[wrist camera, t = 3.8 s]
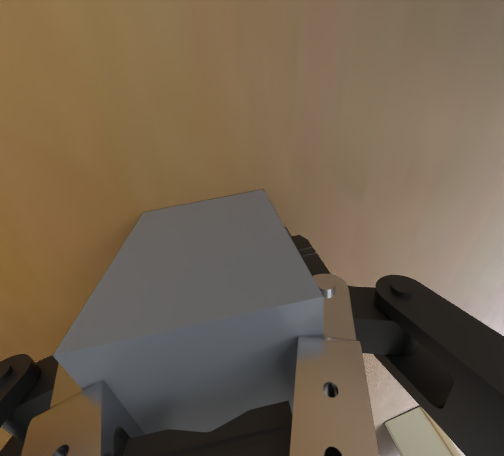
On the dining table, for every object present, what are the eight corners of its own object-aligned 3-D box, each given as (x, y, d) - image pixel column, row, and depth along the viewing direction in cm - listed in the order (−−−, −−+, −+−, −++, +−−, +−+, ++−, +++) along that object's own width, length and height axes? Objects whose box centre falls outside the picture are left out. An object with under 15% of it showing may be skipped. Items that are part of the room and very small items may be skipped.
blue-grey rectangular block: (263, 189, 11) (324, 296, 5) (275, 280, 13) (325, 424, 7) (143, 212, 10) (52, 355, 5) (179, 301, 13) (150, 468, 7)
